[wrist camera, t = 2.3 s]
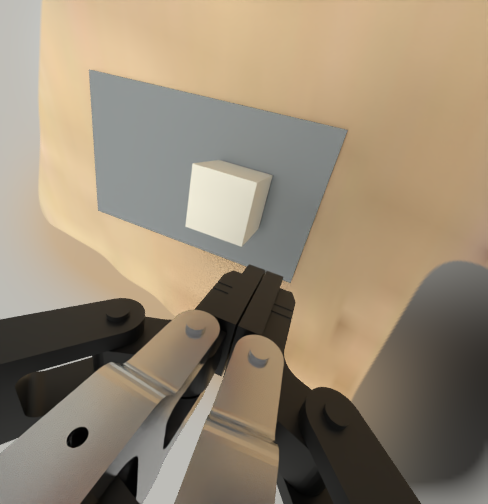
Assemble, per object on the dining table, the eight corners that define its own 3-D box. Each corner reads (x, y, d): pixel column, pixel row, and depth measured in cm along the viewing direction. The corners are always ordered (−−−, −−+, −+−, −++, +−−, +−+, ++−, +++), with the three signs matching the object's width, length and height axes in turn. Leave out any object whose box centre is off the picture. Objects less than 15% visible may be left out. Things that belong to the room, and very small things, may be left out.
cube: (273, 175, 21) (257, 182, 17) (259, 227, 23) (241, 246, 19) (220, 159, 22) (192, 163, 18) (212, 212, 24) (185, 226, 20)
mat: (347, 130, 18) (347, 130, 18) (290, 281, 25) (290, 282, 24) (91, 70, 23) (89, 69, 23) (100, 209, 29) (98, 210, 29)
